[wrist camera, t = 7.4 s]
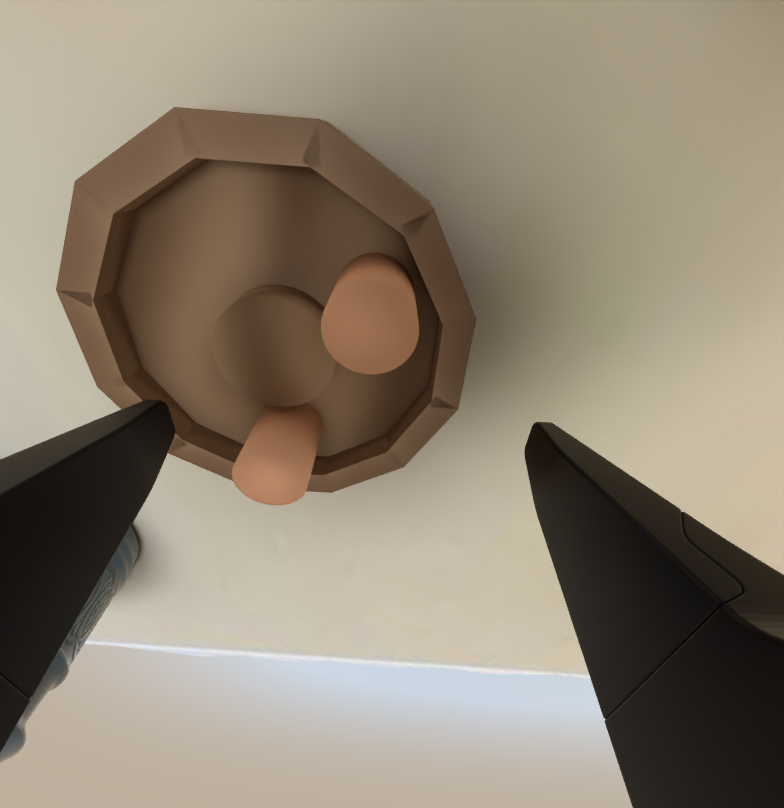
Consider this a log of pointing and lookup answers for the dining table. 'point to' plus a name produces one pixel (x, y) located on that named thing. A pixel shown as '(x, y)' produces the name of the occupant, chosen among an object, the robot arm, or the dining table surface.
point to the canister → (79, 633)
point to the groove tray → (257, 288)
